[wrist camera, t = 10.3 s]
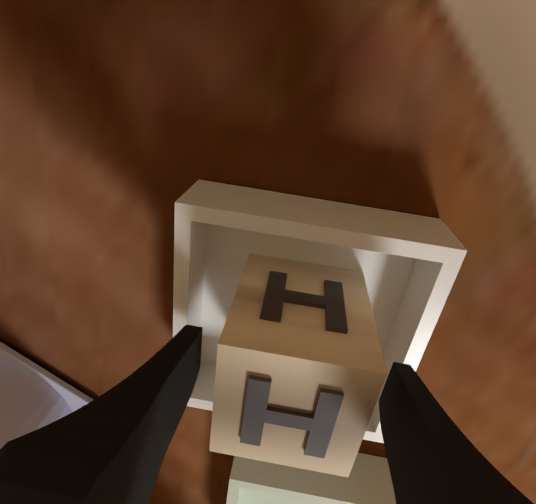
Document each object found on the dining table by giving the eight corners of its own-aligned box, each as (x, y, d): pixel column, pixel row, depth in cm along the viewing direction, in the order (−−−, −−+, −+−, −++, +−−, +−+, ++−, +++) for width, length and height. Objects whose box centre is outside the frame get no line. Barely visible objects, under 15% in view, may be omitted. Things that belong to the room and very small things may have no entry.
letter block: (338, 357, 18) (348, 482, 13) (239, 340, 18) (208, 455, 13) (363, 268, 16) (389, 373, 10) (249, 249, 16) (216, 343, 11)
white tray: (190, 358, 20) (171, 403, 18) (198, 179, 16) (174, 202, 13) (375, 392, 20) (384, 443, 17) (440, 218, 15) (467, 250, 12)
